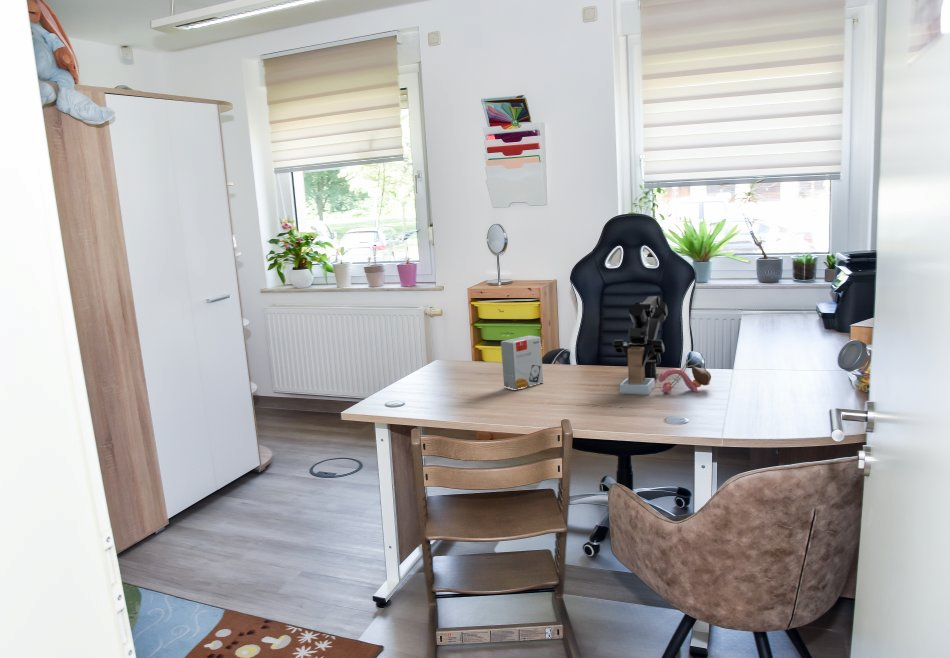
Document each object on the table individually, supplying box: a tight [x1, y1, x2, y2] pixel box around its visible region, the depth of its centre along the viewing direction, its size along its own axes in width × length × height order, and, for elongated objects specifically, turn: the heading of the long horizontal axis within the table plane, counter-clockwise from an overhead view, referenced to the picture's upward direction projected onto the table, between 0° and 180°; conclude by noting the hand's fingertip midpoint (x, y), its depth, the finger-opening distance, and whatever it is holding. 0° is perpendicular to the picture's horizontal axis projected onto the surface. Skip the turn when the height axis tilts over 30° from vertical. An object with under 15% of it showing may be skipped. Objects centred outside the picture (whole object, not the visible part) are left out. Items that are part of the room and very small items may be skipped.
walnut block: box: [627, 347, 645, 384], centre depth 260 cm, size 5×5×13 cm
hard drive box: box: [500, 335, 544, 389], centre depth 283 cm, size 16×8×20 cm, turn 126°
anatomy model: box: [658, 356, 712, 394], centre depth 255 cm, size 11×15×17 cm
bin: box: [619, 377, 656, 396], centre depth 262 cm, size 11×11×4 cm
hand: (635, 365), depth 259 cm, fingers closed on walnut block, 5 cm apart
